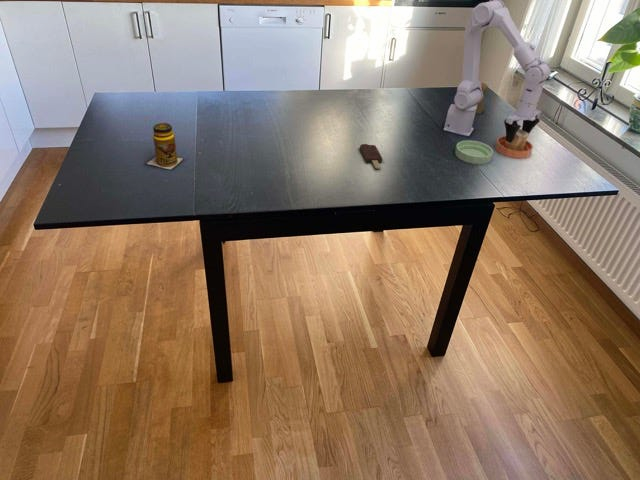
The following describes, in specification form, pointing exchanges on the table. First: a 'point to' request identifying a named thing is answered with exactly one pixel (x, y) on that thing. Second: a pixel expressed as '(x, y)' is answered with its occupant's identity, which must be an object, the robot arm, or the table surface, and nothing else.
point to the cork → (480, 105)
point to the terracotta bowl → (512, 153)
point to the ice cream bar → (371, 154)
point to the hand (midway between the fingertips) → (516, 139)
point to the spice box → (517, 141)
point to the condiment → (164, 147)
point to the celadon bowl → (473, 152)
